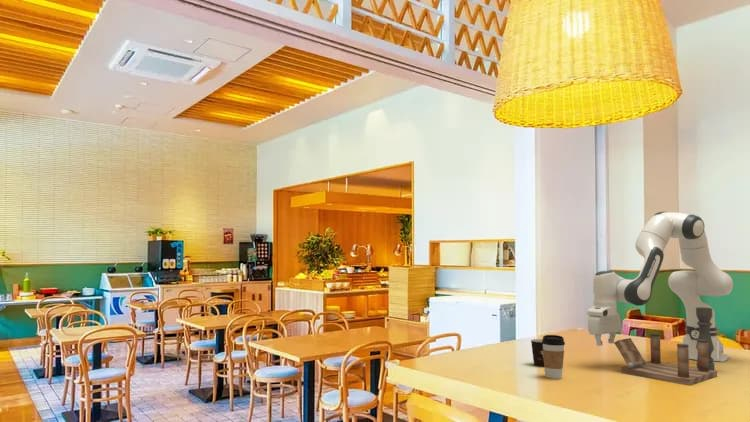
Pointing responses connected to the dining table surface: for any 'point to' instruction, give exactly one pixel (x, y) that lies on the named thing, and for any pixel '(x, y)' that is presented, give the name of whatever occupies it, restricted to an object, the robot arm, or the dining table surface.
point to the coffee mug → (537, 352)
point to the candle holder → (705, 331)
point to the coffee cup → (553, 355)
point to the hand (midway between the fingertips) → (605, 344)
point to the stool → (675, 365)
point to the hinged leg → (630, 353)
